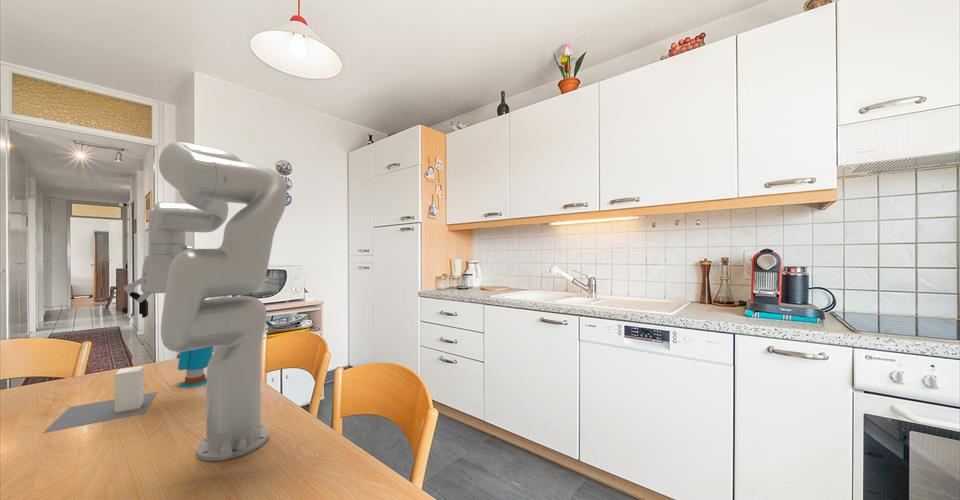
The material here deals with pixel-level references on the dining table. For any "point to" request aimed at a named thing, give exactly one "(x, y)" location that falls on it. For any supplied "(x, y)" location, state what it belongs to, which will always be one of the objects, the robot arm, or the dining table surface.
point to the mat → (96, 413)
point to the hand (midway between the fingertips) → (167, 314)
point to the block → (129, 389)
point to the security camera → (194, 366)
